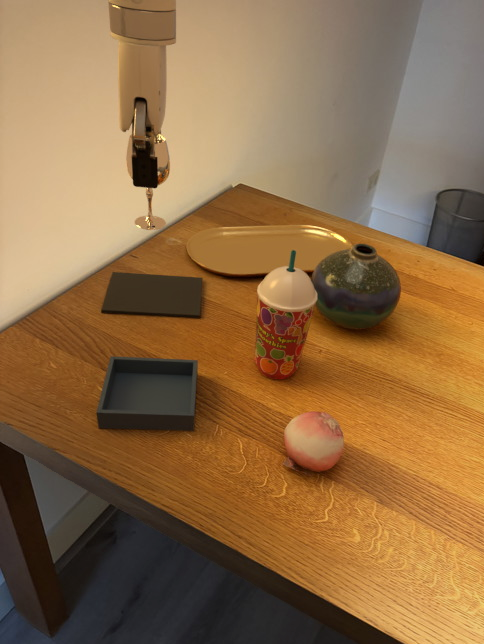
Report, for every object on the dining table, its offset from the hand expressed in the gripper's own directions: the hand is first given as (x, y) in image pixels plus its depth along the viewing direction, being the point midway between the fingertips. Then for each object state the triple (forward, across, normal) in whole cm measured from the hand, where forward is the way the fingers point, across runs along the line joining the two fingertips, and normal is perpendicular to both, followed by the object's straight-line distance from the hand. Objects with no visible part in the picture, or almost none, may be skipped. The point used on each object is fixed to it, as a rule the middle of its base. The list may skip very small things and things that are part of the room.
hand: (148, 175), depth 75 cm
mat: (+23, -6, 0) cm, 24 cm away
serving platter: (+24, -24, +21) cm, 40 cm away
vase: (+24, -3, +34) cm, 41 cm away
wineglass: (+7, 0, 0) cm, 7 cm away
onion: (+24, +30, +23) cm, 44 cm away
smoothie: (+24, +12, +20) cm, 33 cm away
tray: (+24, +20, +2) cm, 31 cm away
